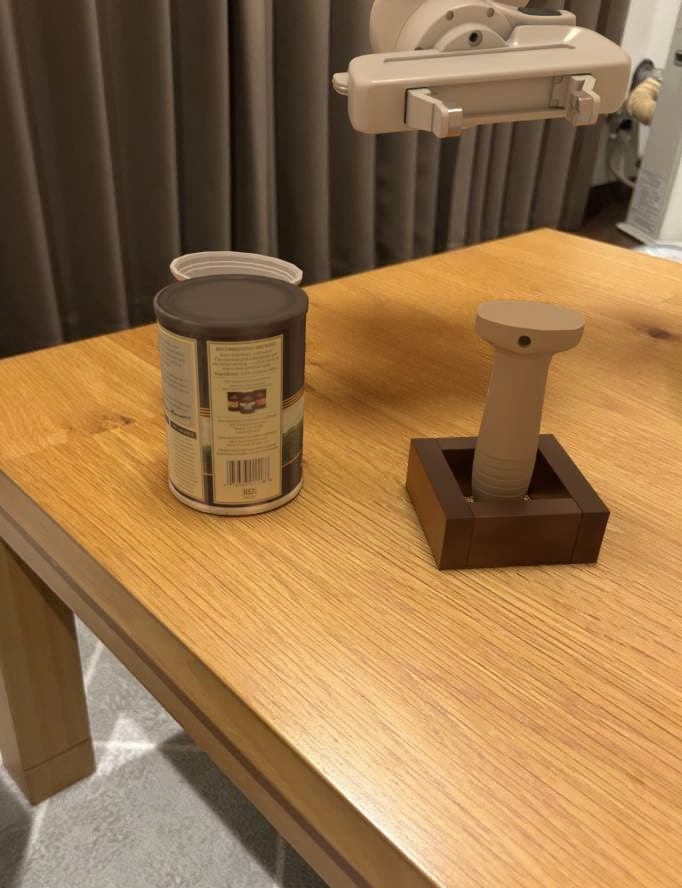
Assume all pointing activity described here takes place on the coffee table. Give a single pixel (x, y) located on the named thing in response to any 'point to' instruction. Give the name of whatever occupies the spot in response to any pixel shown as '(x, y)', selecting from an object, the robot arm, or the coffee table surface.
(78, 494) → the coffee table surface
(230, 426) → the coffee can
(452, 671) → the coffee table surface
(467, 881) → the coffee table surface
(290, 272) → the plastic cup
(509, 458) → the handle
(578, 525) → the stand
